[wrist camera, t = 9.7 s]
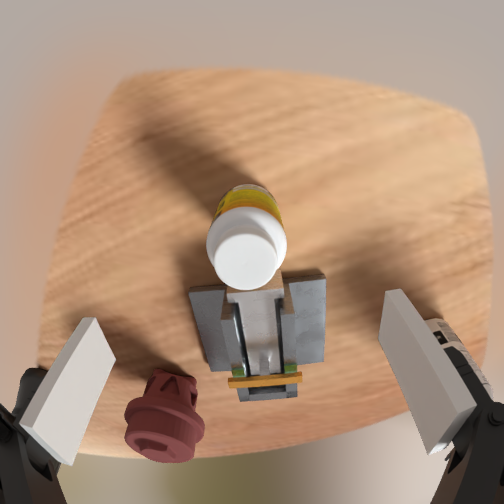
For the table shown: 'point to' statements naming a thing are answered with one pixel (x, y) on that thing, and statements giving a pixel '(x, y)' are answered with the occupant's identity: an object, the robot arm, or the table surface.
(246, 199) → the supplement bottle
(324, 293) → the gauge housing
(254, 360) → the plunger
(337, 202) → the table surface
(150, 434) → the mechanical component
